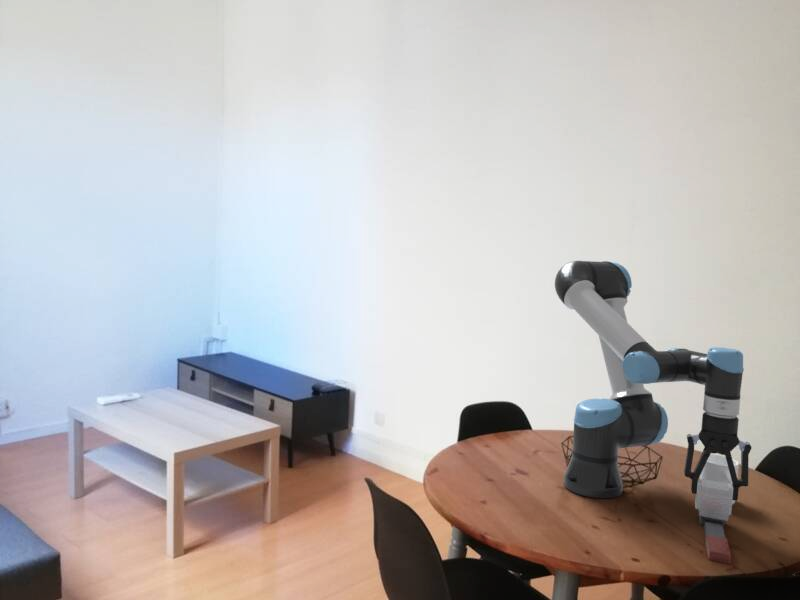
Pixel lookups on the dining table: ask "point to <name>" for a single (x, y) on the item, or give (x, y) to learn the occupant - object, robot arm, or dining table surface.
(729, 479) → the mug
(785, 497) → the dining table surface
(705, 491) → the white ridged cube
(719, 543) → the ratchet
